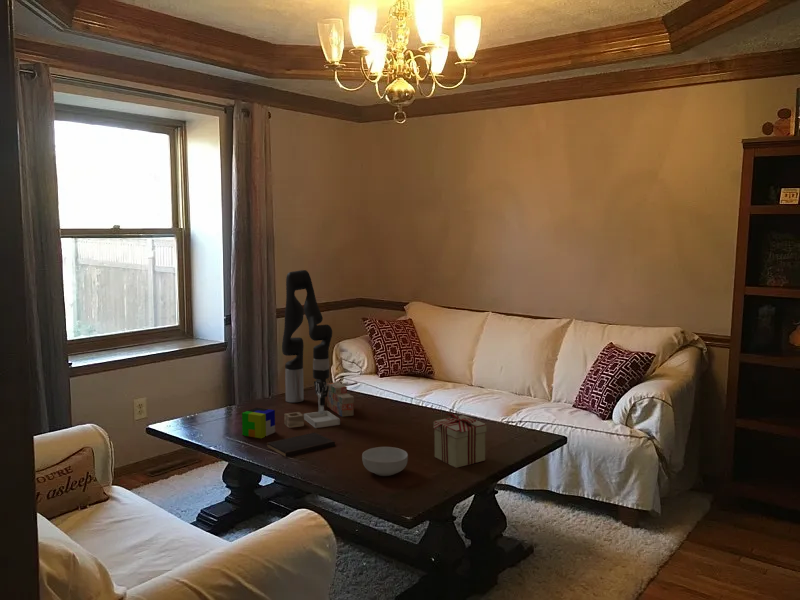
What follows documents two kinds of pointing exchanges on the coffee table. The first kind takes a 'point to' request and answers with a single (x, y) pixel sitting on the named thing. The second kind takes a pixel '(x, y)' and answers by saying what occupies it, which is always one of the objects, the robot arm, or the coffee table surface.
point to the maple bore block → (293, 419)
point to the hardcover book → (300, 444)
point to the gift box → (459, 440)
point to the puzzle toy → (258, 422)
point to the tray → (321, 419)
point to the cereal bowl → (385, 460)
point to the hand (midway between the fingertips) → (321, 404)
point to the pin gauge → (320, 408)
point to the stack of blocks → (340, 399)
